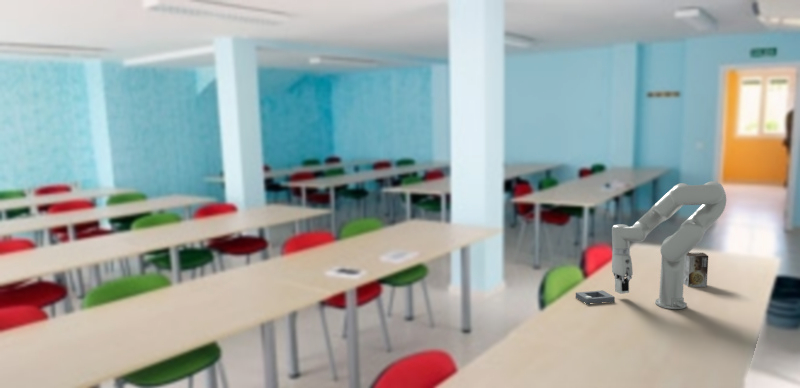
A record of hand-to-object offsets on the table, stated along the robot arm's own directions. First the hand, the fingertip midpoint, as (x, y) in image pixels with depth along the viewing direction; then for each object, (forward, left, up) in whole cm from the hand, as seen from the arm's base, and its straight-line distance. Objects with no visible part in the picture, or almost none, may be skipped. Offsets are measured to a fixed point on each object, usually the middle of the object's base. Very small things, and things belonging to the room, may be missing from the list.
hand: (622, 289), depth 266 cm
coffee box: (+10, -47, -5) cm, 48 cm away
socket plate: (+1, +13, -5) cm, 14 cm away
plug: (0, 0, -1) cm, 1 cm away
